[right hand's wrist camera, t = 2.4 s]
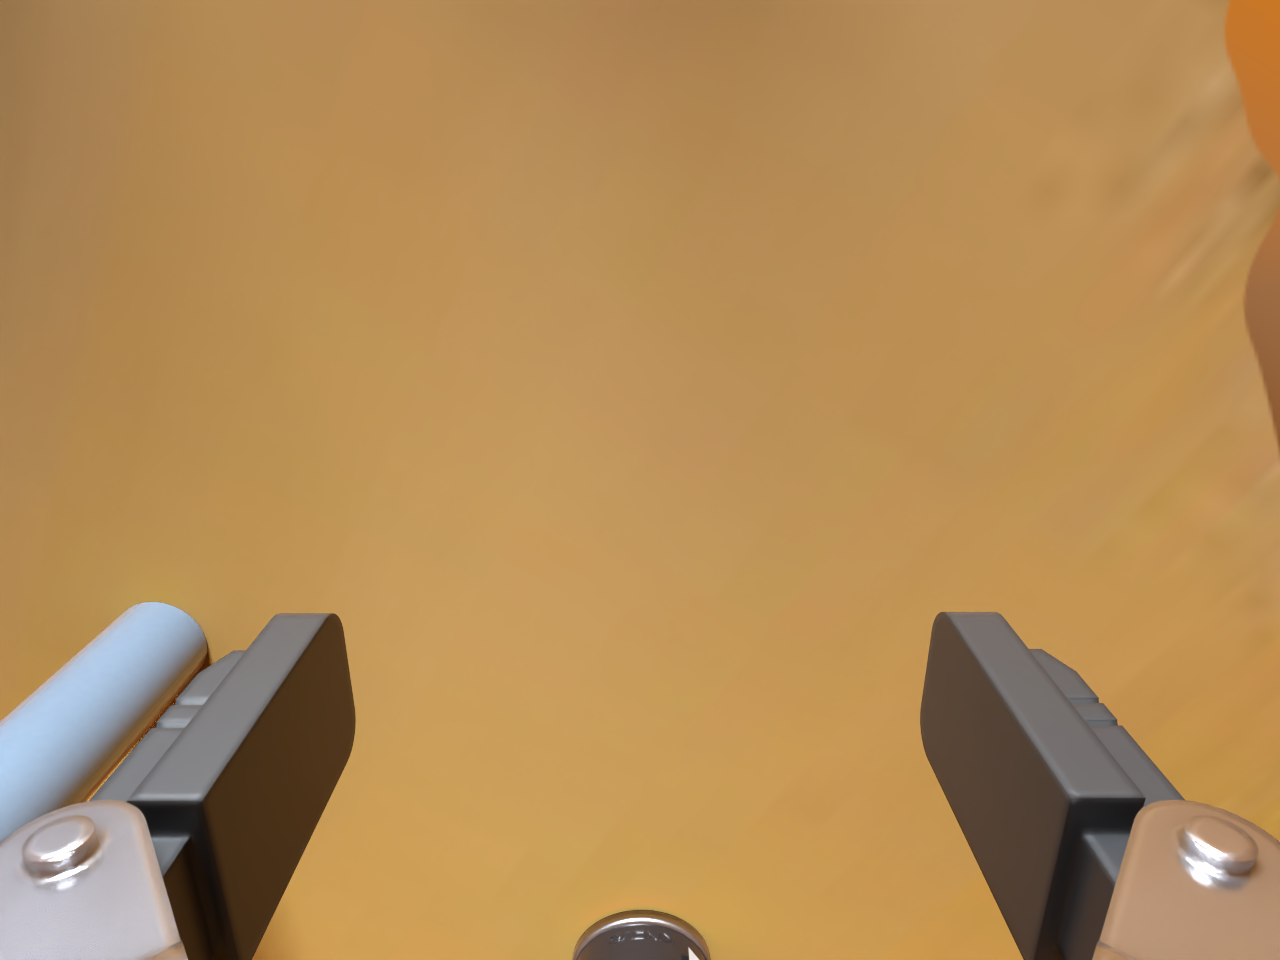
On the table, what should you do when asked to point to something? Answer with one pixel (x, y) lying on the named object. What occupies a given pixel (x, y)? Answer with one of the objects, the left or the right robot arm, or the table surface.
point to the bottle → (94, 711)
